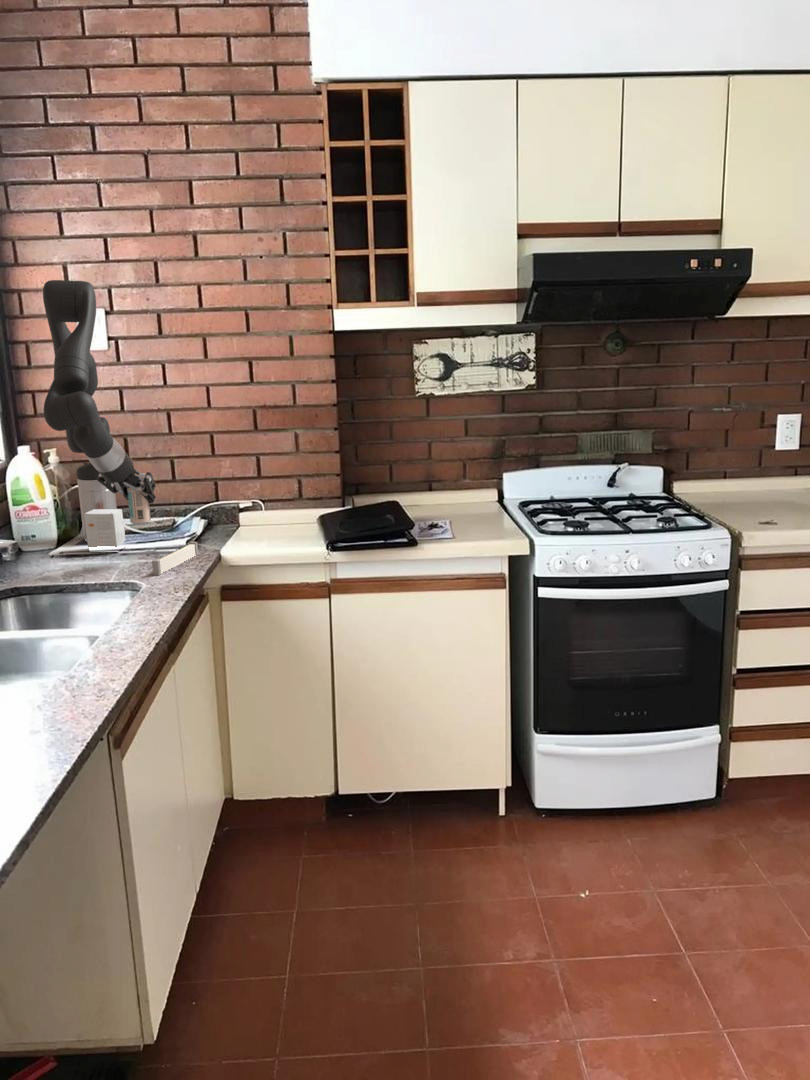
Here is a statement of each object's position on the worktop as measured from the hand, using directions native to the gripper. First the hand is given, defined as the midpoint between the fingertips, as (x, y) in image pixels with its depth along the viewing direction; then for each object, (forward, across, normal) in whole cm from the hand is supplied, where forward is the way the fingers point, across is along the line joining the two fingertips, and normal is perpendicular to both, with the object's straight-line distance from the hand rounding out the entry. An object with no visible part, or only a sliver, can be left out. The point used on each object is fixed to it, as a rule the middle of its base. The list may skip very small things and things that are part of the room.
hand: (142, 500), depth 207 cm
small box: (+16, +16, +6) cm, 24 cm away
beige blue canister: (+3, 0, +5) cm, 6 cm away
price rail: (+10, -9, +12) cm, 18 cm away
